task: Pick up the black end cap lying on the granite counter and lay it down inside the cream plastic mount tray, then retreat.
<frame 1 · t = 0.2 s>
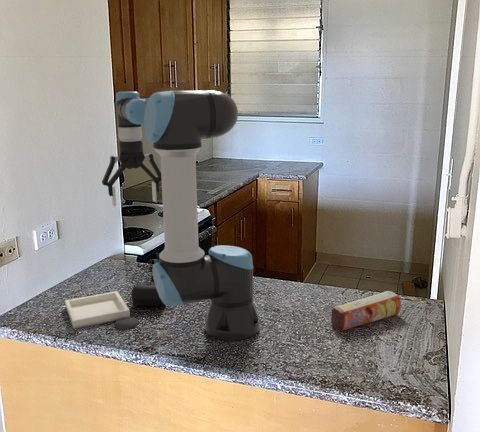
hand: (134, 203, 176), 27 cm above the worktop, tool pointing down, fingers open, 13 cm apart
end cap: (150, 305, 163), on the worktop
lens cap: (126, 325, 150), on the worktop
mount tray: (97, 312, 158), on the worktop
binoculars: (162, 279, 184), on the worktop
snack package: (365, 321, 150), on the worktop
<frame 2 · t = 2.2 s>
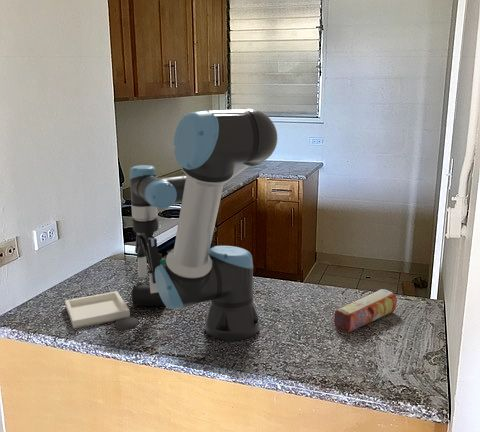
hand: (148, 284, 161), 7 cm above the worktop, tool pointing down, fingers open, 13 cm apart
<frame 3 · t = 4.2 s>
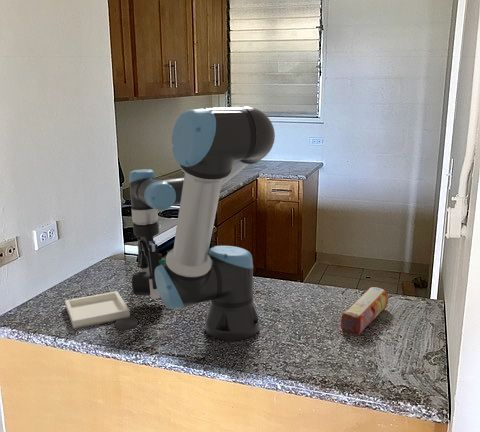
hand: (151, 293, 161), 4 cm above the worktop, tool pointing down, fingers closed on end cap, 9 cm apart
end cap: (151, 295, 161), point 4 cm above the worktop, touching gripper
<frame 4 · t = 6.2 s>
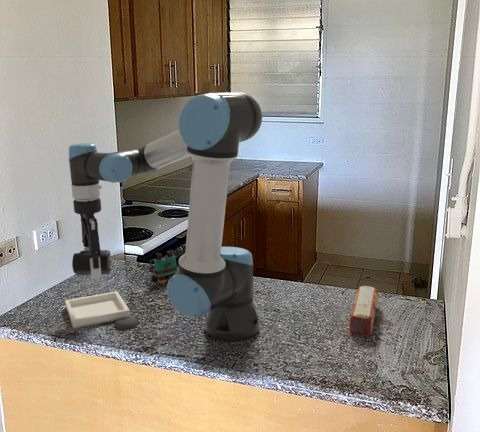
hand: (93, 272, 154), 13 cm above the worktop, tool pointing down, fingers closed on end cap, 9 cm apart
end cap: (93, 274, 155), point 12 cm above the worktop, touching gripper
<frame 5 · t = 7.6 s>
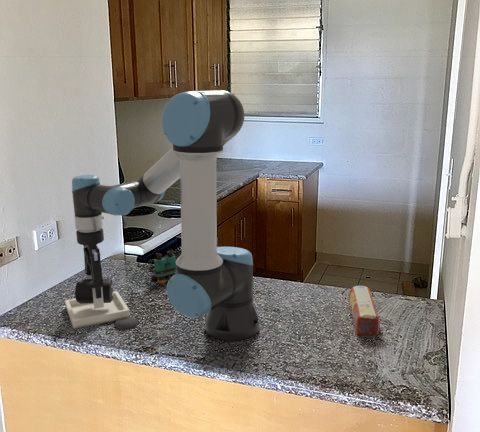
hand: (95, 301, 157), 4 cm above the worktop, tool pointing down, fingers closed on end cap, 9 cm apart
end cap: (96, 303, 157), point 3 cm above the worktop, touching gripper
when the fingers open (2 cm above the worktop, at t = 8.5 s): end cap stays where it is, resting on mount tray.
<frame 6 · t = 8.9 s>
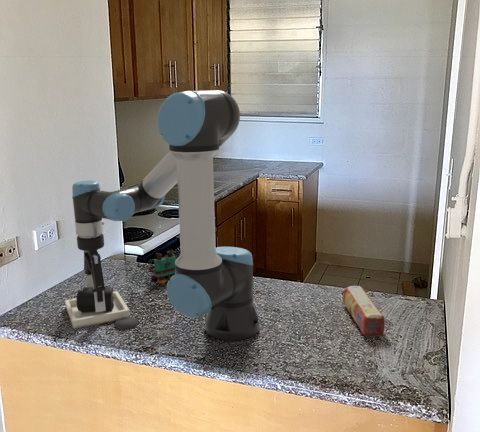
hand: (96, 302, 157), 3 cm above the worktop, tool pointing down, fingers open, 13 cm apart
end cap: (97, 311, 158), resting on mount tray
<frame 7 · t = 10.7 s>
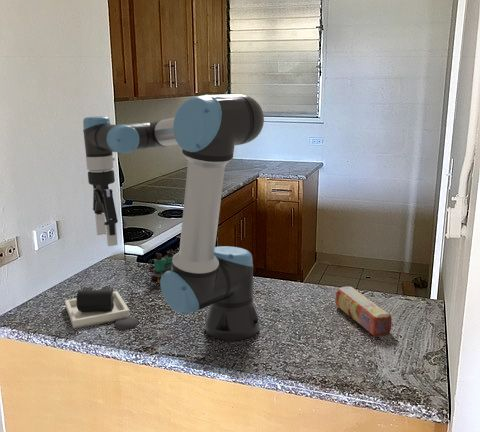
hand: (106, 239, 159), 21 cm above the worktop, tool pointing down, fingers open, 13 cm apart
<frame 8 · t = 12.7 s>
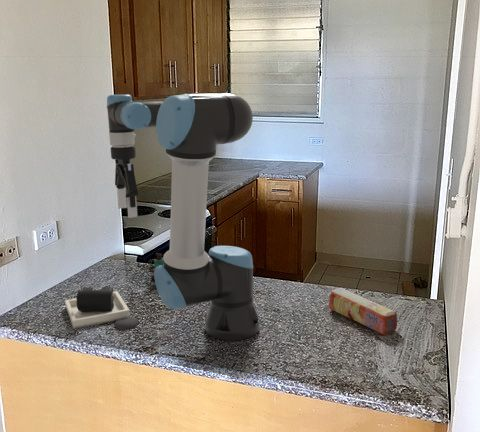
hand: (127, 212, 167), 27 cm above the worktop, tool pointing down, fingers open, 13 cm apart
at the end: end cap inside the target area on the mount tray (0.1 cm from its centre), point 0.4 cm above the mount tray's base; end cap moved 16.1 cm from its start; the gripper is holding nothing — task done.
